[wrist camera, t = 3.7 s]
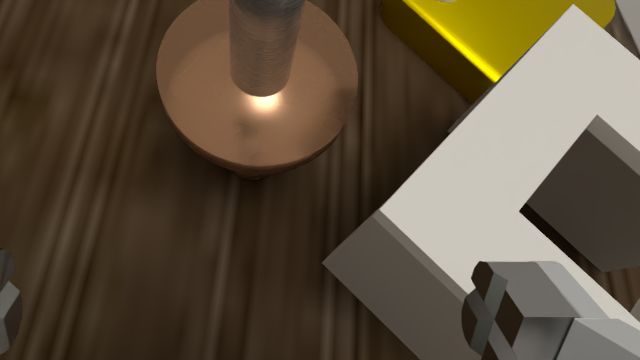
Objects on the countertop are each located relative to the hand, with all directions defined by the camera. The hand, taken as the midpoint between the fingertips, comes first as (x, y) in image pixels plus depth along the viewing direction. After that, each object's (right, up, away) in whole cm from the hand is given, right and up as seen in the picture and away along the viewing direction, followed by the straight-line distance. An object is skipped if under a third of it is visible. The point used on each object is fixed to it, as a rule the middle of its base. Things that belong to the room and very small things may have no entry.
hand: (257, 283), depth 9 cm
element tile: (+16, +16, +36) cm, 42 cm away
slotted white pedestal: (+12, -4, +28) cm, 31 cm away
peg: (-4, +4, +28) cm, 28 cm away
